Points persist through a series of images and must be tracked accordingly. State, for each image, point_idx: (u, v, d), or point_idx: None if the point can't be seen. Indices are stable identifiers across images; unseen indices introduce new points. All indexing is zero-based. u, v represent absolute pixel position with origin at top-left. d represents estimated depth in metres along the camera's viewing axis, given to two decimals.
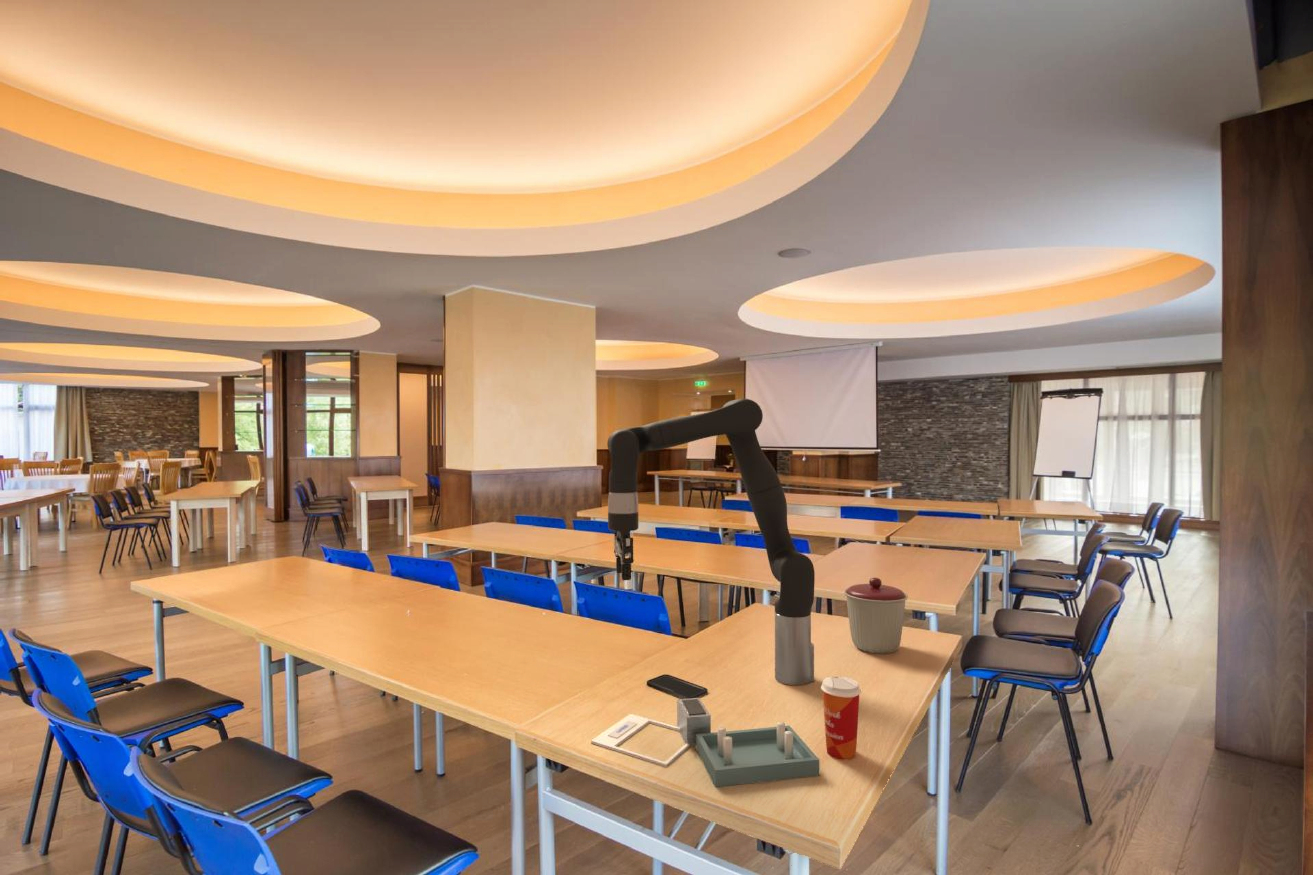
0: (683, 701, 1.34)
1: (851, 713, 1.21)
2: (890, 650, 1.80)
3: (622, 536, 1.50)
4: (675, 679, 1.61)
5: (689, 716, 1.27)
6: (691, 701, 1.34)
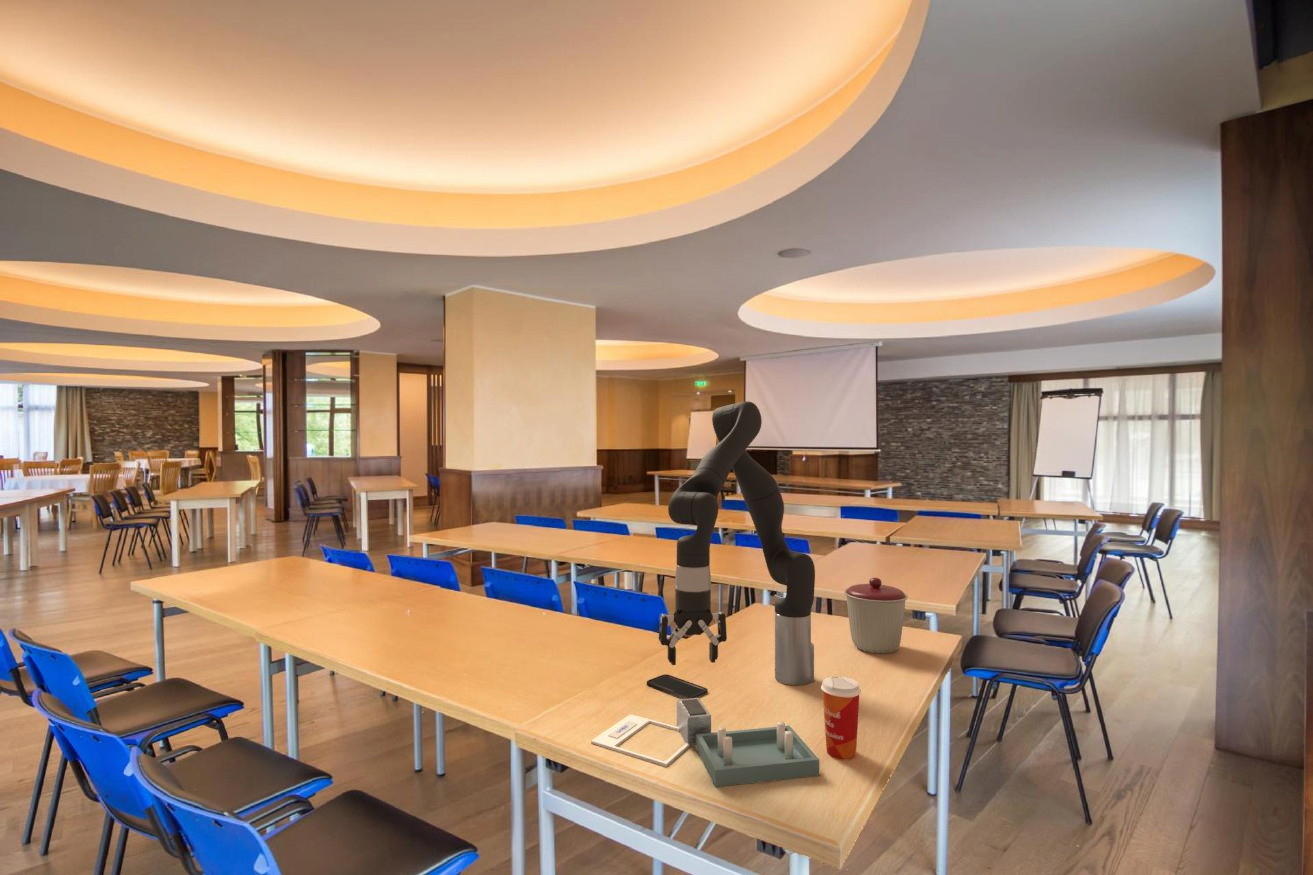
0: (683, 701, 1.34)
1: (851, 713, 1.21)
2: (890, 650, 1.80)
3: (711, 613, 1.32)
4: (675, 679, 1.61)
5: (690, 716, 1.27)
6: (691, 701, 1.34)
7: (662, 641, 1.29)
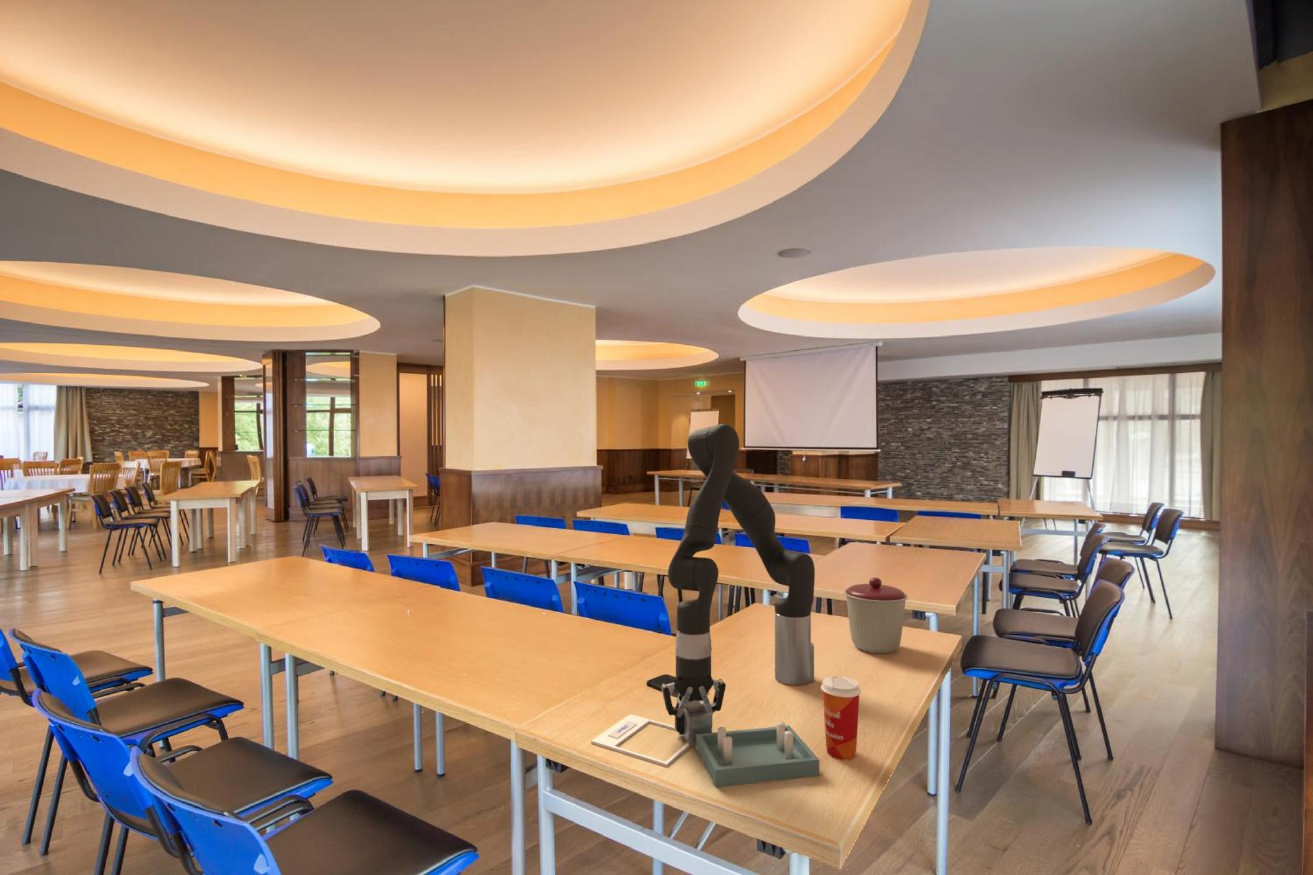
0: None
1: (851, 713, 1.21)
2: (890, 650, 1.80)
3: (712, 680, 1.32)
4: None
5: (690, 715, 1.27)
6: None
7: (669, 712, 1.29)
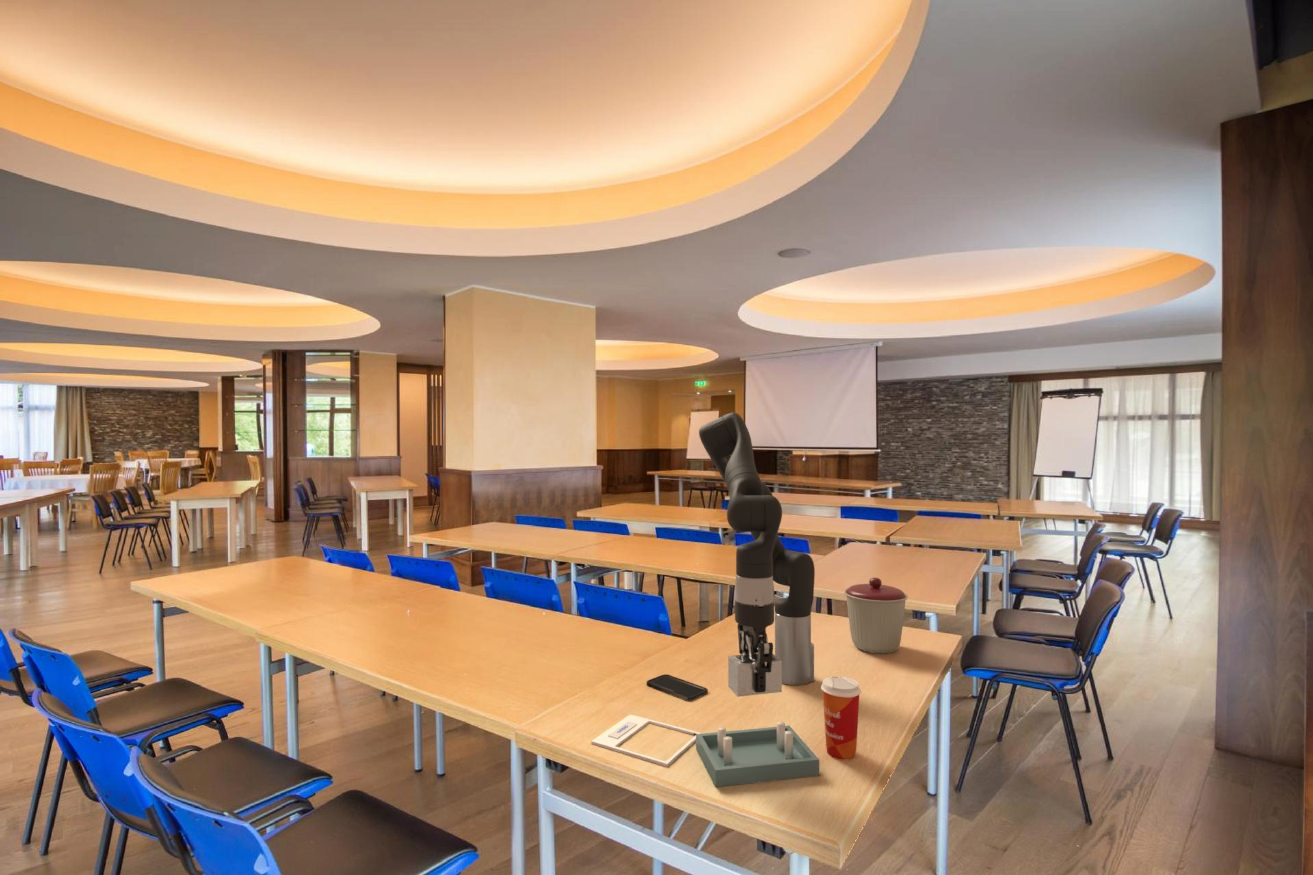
0: (743, 661, 1.19)
1: (851, 713, 1.21)
2: (890, 650, 1.80)
3: None
4: (675, 679, 1.61)
5: (778, 659, 1.20)
6: (742, 657, 1.20)
7: (770, 668, 1.16)
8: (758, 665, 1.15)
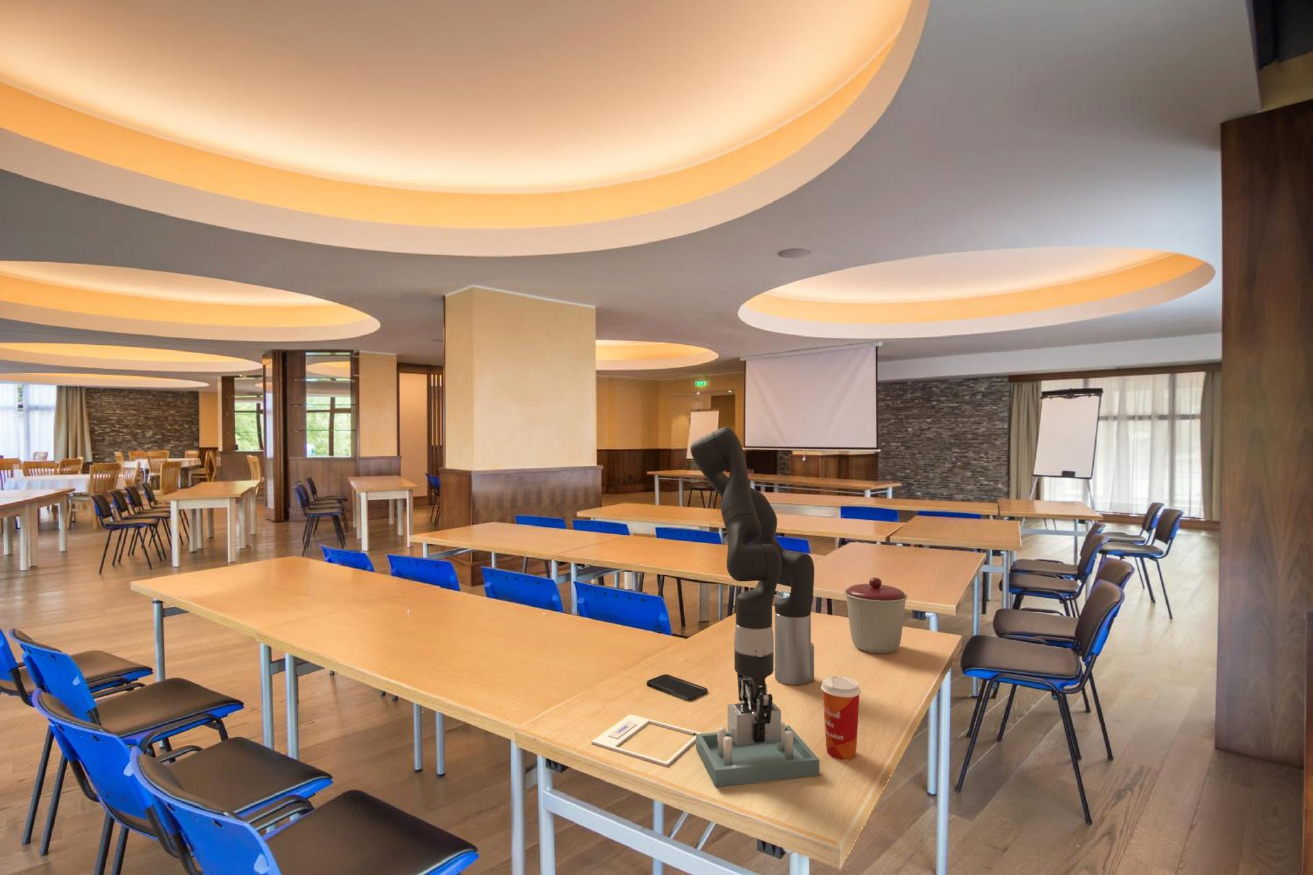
0: (743, 711, 1.19)
1: (851, 713, 1.21)
2: (890, 650, 1.80)
3: None
4: (675, 679, 1.61)
5: (777, 709, 1.20)
6: (741, 707, 1.20)
7: None
8: (757, 716, 1.15)
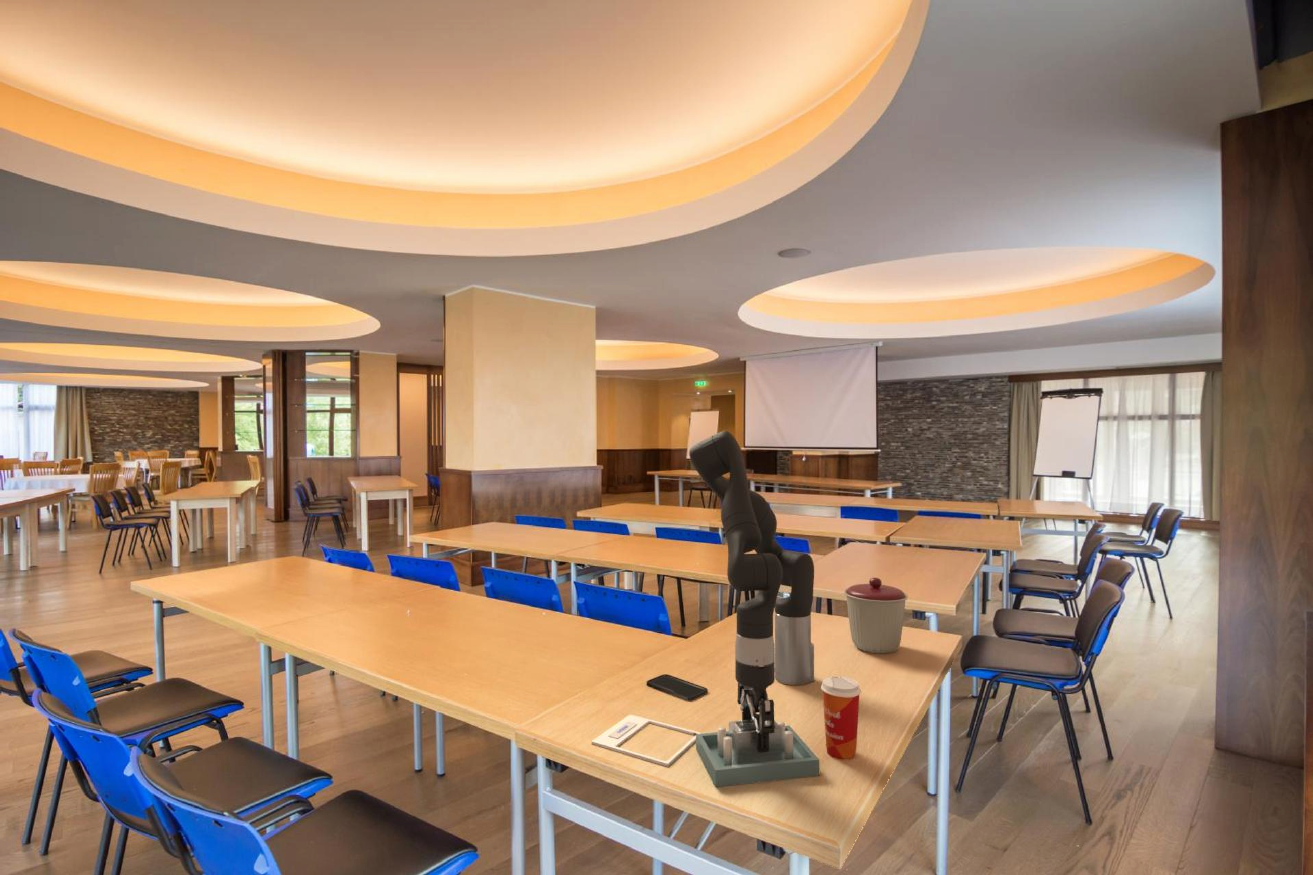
0: (744, 729, 1.19)
1: (851, 713, 1.21)
2: (890, 650, 1.80)
3: None
4: (675, 679, 1.61)
5: (778, 727, 1.20)
6: (742, 724, 1.20)
7: None
8: (761, 725, 1.14)
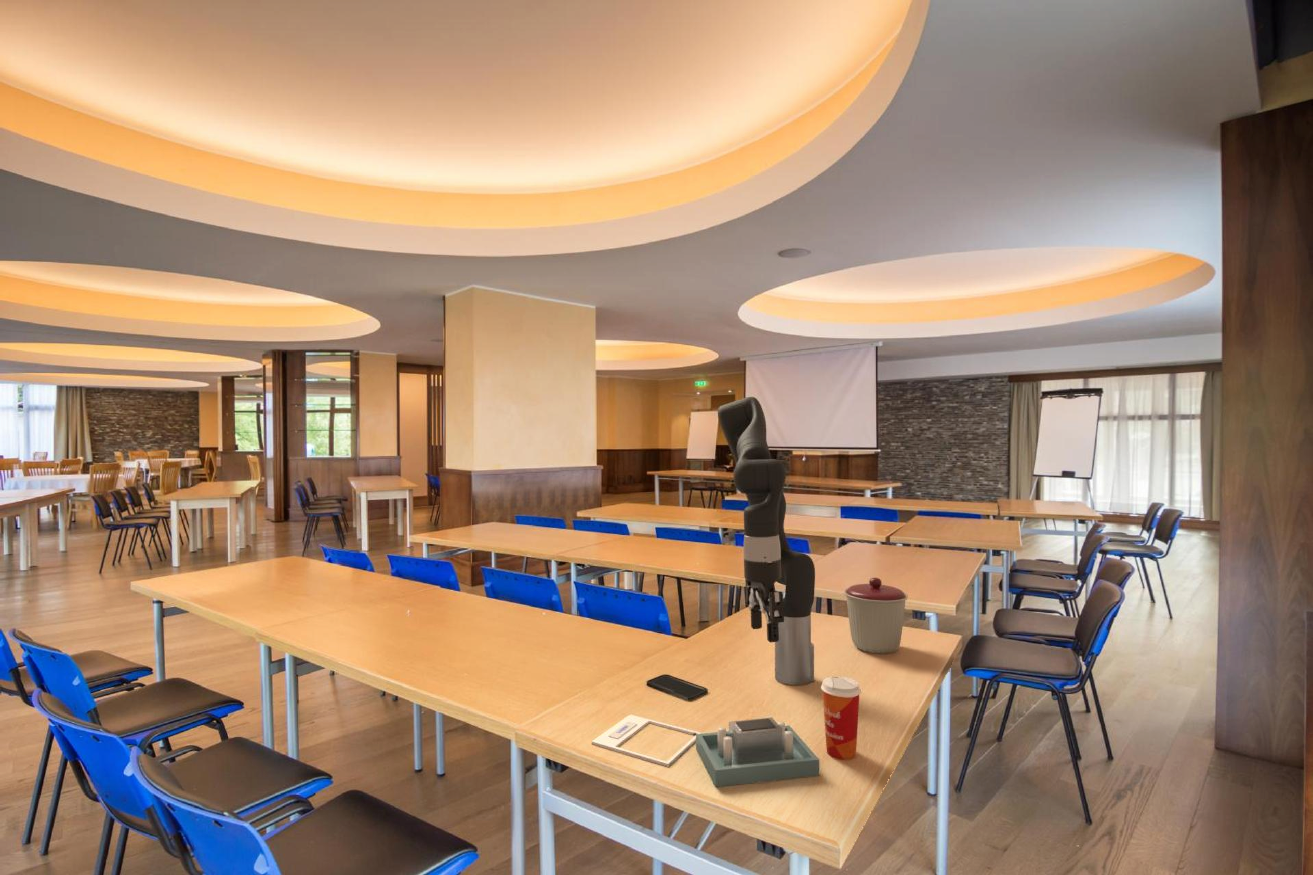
0: (744, 729, 1.19)
1: (851, 713, 1.21)
2: (890, 650, 1.80)
3: None
4: (675, 679, 1.61)
5: (778, 727, 1.20)
6: (742, 724, 1.20)
7: (783, 618, 1.22)
8: (771, 615, 1.21)
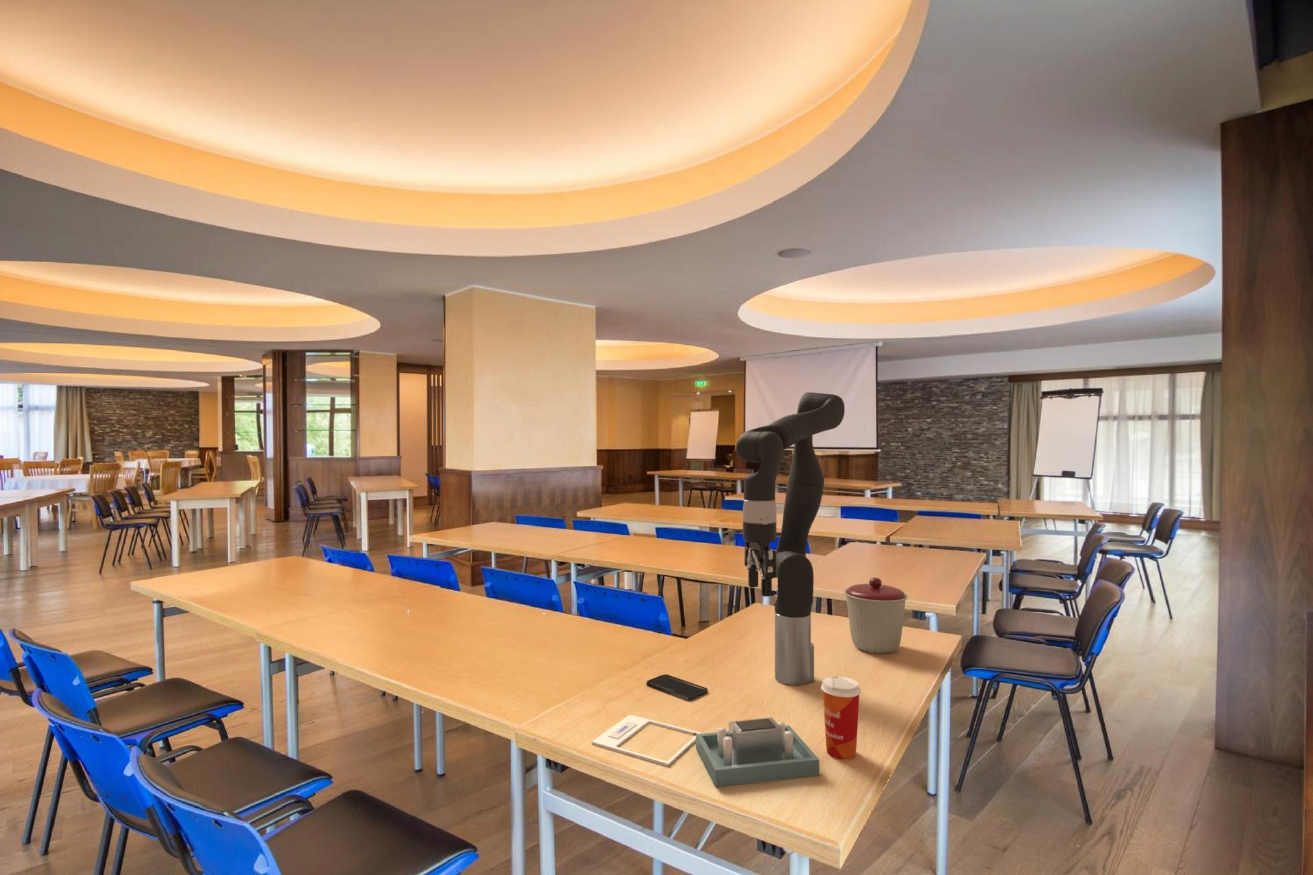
0: (744, 729, 1.19)
1: (851, 713, 1.21)
2: (890, 650, 1.80)
3: None
4: (675, 679, 1.61)
5: (778, 727, 1.20)
6: (742, 724, 1.20)
7: None
8: (765, 570, 1.34)
